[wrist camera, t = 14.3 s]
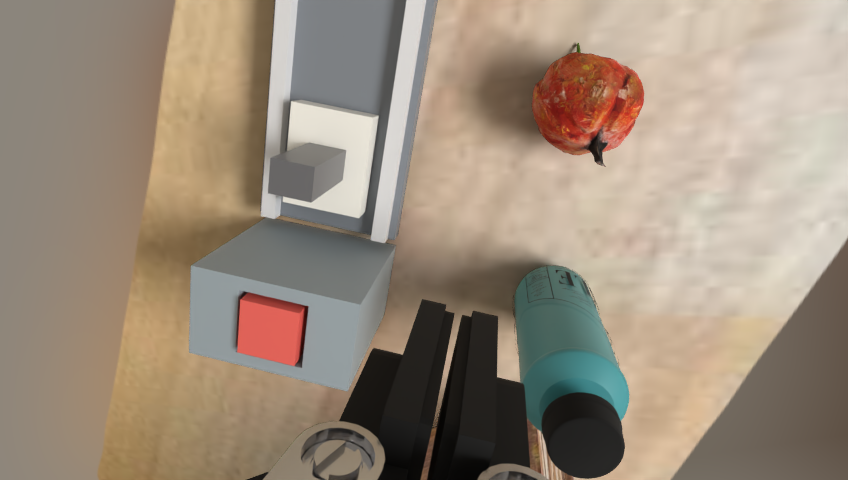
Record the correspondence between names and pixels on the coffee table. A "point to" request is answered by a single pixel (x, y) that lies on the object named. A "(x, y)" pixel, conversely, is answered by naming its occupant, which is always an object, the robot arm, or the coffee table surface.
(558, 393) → the beverage bottle
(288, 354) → the button
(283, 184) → the carriage
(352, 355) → the button cabinet
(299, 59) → the rail bed
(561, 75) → the pomegranate
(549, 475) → the book
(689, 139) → the coffee table surface
